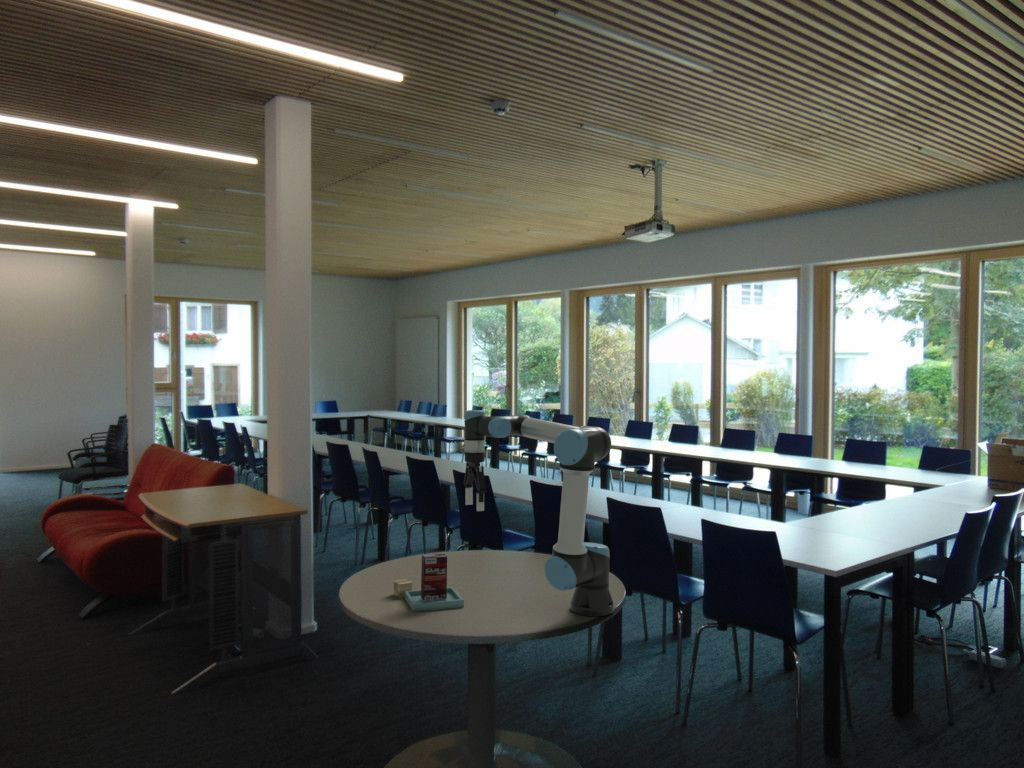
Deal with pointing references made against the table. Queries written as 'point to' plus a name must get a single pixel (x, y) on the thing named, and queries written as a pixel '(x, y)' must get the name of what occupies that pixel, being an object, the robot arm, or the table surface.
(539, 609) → the table surface
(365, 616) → the table surface
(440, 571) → the supplement box
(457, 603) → the tray
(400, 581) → the oak cube
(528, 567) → the table surface
